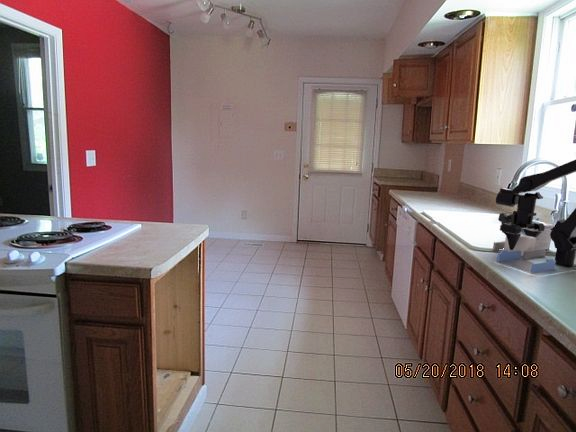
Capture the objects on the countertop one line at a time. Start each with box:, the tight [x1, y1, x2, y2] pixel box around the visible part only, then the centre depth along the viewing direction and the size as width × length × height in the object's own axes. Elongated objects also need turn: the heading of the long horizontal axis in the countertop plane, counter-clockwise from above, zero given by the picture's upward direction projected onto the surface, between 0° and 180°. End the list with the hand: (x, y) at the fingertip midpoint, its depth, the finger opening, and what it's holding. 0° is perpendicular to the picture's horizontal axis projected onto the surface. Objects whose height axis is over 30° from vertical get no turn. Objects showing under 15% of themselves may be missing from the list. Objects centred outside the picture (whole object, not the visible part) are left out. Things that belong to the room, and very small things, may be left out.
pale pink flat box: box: [504, 234, 536, 256], centre depth 151 cm, size 4×9×7 cm, turn 26°
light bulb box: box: [518, 219, 555, 250], centre depth 162 cm, size 11×7×11 cm, turn 14°
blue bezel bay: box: [496, 250, 557, 274], centre depth 136 cm, size 12×13×4 cm
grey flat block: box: [492, 240, 547, 260], centre depth 151 cm, size 12×13×3 cm
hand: (518, 248), depth 151 cm, fingers open, 9 cm apart
